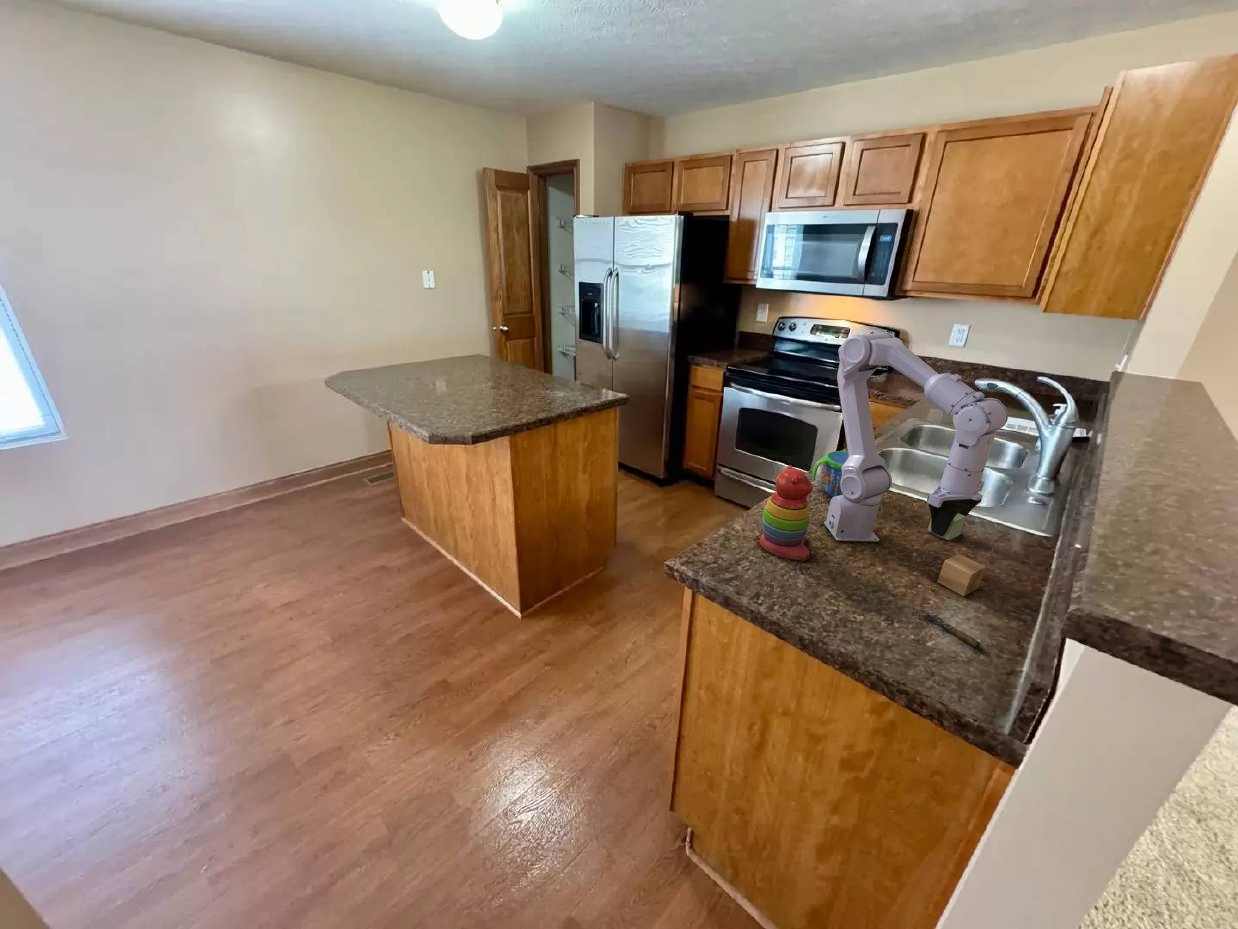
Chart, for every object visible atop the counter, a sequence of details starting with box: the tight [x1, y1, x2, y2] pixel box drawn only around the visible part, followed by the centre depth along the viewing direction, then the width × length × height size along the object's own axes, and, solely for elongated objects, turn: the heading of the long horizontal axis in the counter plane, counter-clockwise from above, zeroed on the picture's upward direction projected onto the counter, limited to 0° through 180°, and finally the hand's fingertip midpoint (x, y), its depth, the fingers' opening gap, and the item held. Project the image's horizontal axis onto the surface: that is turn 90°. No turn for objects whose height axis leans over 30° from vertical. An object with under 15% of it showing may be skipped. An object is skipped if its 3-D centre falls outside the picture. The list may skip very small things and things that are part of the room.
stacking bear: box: [759, 465, 814, 562], centre depth 107 cm, size 11×10×18 cm
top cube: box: [927, 513, 967, 541], centre depth 97 cm, size 4×4×4 cm
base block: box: [937, 553, 986, 597], centre depth 98 cm, size 5×5×5 cm
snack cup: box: [811, 450, 849, 498], centre depth 132 cm, size 16×10×10 cm
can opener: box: [926, 612, 981, 649], centre depth 86 cm, size 9×2×1 cm, turn 23°
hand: (944, 530), depth 98 cm, fingers closed on top cube, 4 cm apart
